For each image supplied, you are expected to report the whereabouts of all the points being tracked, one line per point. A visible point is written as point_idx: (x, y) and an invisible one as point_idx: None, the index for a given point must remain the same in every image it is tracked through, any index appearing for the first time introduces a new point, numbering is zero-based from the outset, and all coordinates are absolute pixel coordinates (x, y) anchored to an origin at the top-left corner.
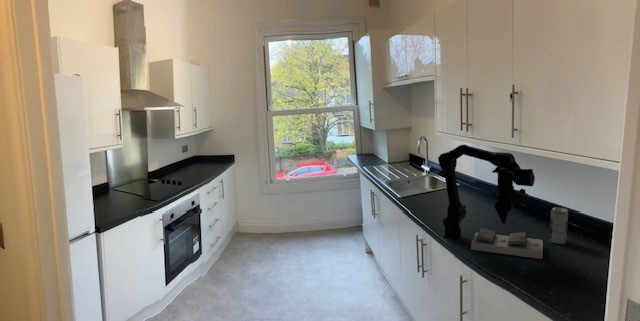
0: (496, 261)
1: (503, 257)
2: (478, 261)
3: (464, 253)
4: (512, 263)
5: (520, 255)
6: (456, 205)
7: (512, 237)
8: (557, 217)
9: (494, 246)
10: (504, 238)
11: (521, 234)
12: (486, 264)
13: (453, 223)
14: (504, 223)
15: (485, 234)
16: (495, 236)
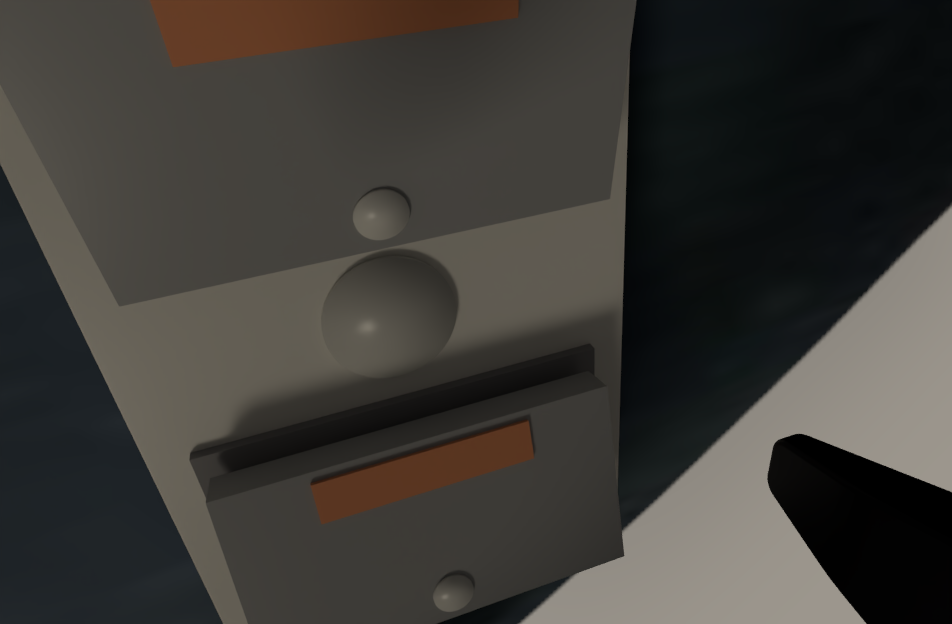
0: (801, 184)
1: (683, 154)
2: (828, 311)
3: (690, 460)
4: (821, 21)
5: None
6: None
7: (405, 187)
8: None
9: (614, 312)
10: (259, 314)
11: (219, 48)
12: (878, 236)
13: None
14: (799, 442)
15: (502, 520)
16: (270, 436)
